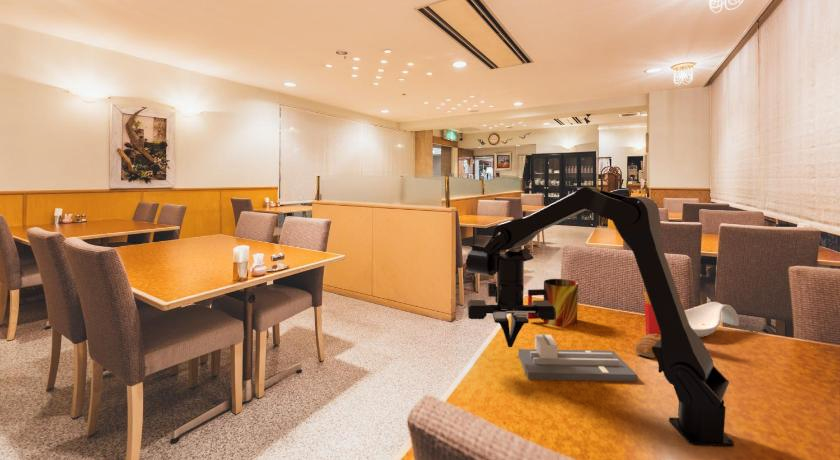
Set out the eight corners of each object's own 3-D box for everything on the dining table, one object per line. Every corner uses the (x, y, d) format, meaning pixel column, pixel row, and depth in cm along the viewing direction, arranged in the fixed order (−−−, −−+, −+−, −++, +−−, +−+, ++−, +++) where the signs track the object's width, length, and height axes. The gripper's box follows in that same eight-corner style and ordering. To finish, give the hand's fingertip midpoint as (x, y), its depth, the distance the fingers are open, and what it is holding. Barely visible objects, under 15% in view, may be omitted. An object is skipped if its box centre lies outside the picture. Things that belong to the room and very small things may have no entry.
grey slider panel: (636, 381, 80) (637, 369, 80) (528, 379, 82) (528, 366, 81) (612, 356, 92) (613, 345, 92) (518, 355, 94) (518, 344, 93)
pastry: (659, 363, 89) (659, 347, 88) (627, 354, 94) (628, 339, 93) (672, 351, 95) (673, 336, 94) (642, 344, 100) (642, 329, 99)
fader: (557, 365, 84) (557, 344, 83) (540, 365, 84) (541, 344, 84) (550, 354, 90) (550, 334, 89) (534, 353, 90) (535, 334, 90)
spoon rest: (699, 345, 98) (701, 318, 98) (655, 330, 109) (656, 305, 108) (753, 330, 108) (754, 305, 107) (707, 318, 119) (708, 295, 118)
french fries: (684, 345, 98) (687, 295, 96) (676, 349, 95) (678, 297, 94) (646, 334, 105) (649, 287, 104) (638, 337, 103) (640, 290, 102)
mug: (526, 322, 117) (526, 283, 116) (558, 314, 124) (558, 277, 123) (551, 331, 109) (552, 290, 107) (584, 323, 115) (585, 283, 114)
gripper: (544, 271, 93) (543, 334, 95) (466, 271, 95) (466, 333, 96) (557, 282, 82) (555, 353, 84) (468, 281, 84) (468, 351, 85)
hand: (509, 346), depth 87 cm, fingers closed
